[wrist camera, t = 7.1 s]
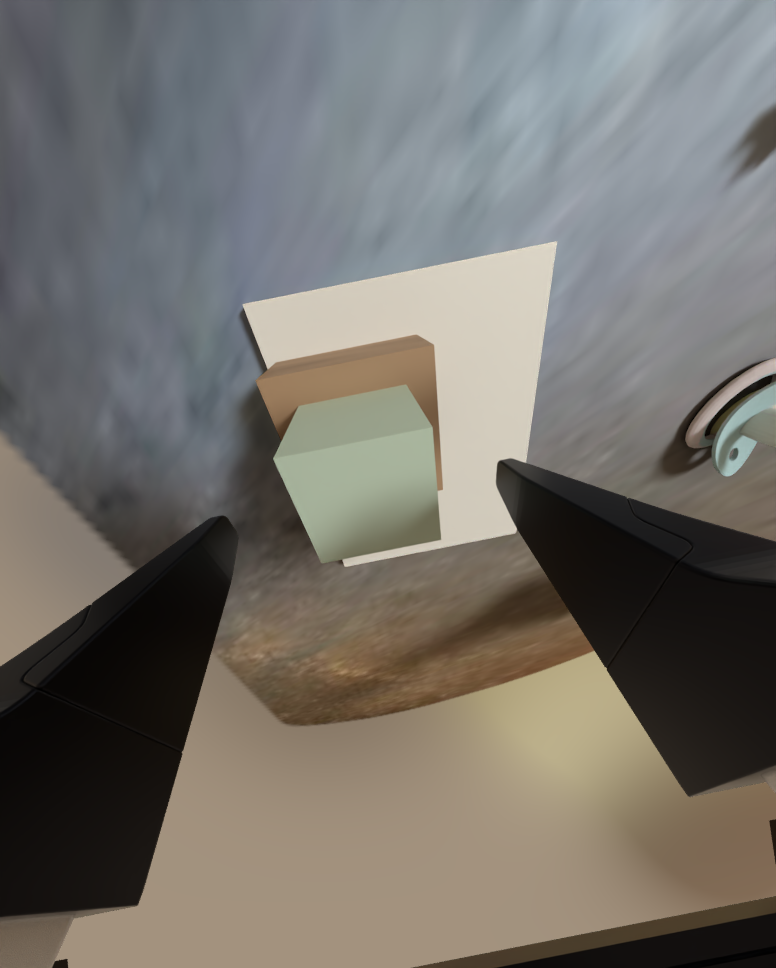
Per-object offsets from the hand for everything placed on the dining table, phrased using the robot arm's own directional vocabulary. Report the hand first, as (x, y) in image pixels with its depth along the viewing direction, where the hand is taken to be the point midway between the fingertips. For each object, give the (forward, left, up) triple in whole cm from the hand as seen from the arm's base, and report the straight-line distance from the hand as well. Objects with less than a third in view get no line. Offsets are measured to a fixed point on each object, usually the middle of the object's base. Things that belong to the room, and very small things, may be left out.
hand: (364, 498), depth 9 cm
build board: (-3, -3, -8) cm, 9 cm away
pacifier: (-5, -25, -9) cm, 27 cm away
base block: (0, 0, -8) cm, 8 cm away
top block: (0, 0, -4) cm, 4 cm away
